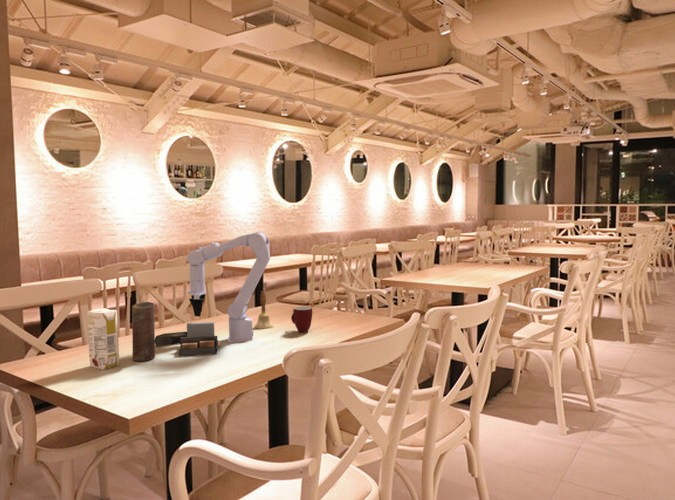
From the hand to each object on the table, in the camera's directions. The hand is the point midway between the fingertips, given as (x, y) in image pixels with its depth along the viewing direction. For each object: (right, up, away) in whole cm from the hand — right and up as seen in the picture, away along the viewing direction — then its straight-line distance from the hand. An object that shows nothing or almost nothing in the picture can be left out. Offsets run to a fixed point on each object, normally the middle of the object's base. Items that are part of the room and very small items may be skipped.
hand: (198, 314), depth 212 cm
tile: (+3, -11, -7) cm, 13 cm away
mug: (+40, -9, +15) cm, 43 cm away
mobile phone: (-9, -12, -7) cm, 16 cm away
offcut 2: (+8, -11, -19) cm, 24 cm away
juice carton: (-23, -14, -33) cm, 42 cm away
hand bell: (+23, -9, +24) cm, 34 cm away
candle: (-12, -13, -27) cm, 32 cm away
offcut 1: (+2, -12, -21) cm, 24 cm away
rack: (+5, -12, -17) cm, 22 cm away
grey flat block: (+3, -10, -7) cm, 13 cm away
